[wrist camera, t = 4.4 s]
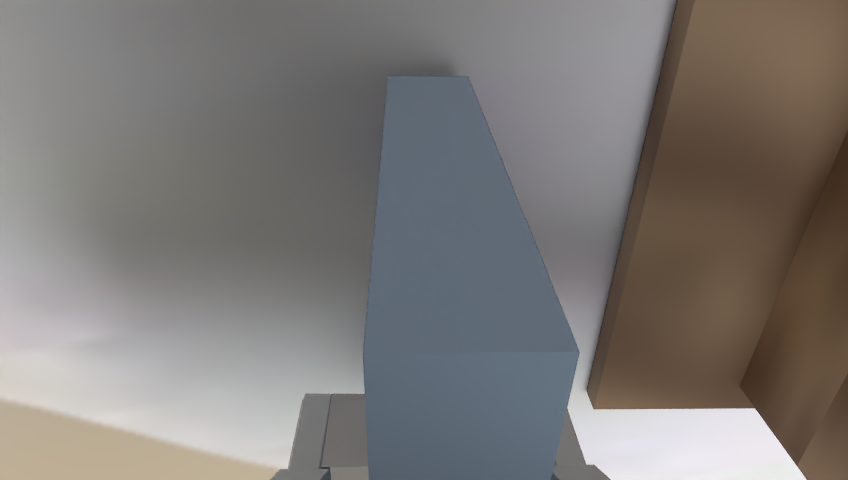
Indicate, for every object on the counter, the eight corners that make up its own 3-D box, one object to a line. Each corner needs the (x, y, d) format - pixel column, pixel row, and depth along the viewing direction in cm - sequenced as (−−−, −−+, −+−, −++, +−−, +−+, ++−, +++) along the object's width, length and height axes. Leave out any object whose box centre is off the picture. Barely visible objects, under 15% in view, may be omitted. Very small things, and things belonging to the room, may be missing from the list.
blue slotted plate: (388, 75, 12) (361, 353, 4) (468, 76, 12) (579, 351, 5) (391, 402, 17) (383, 785, 10) (447, 401, 18) (482, 781, 10)
